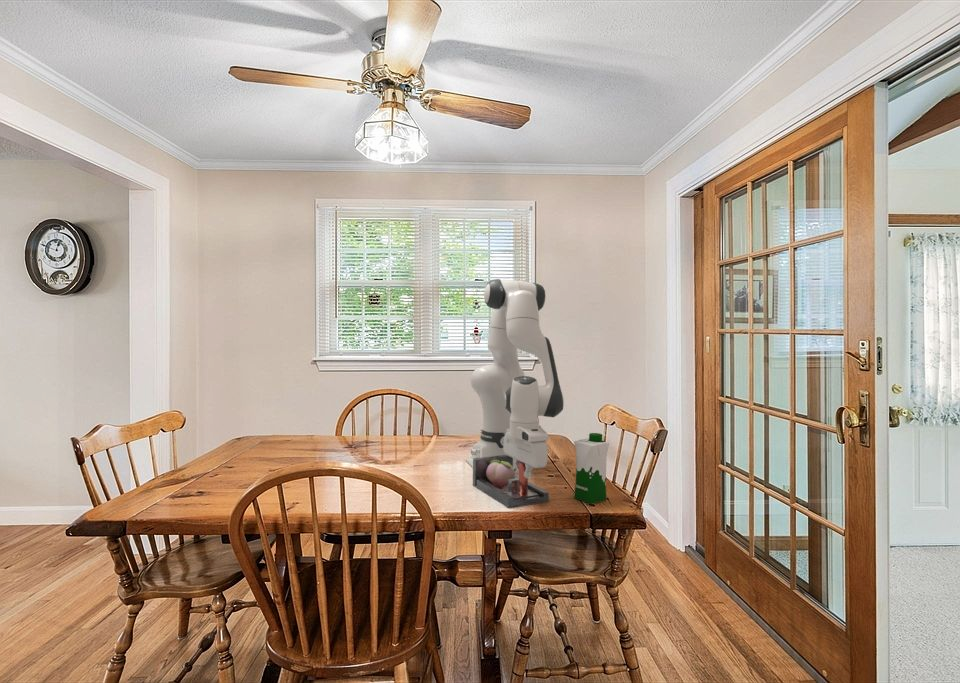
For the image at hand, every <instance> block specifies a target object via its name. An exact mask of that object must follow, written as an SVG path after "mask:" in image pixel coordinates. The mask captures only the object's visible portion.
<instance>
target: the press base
mask: <svg viewBox="0 0 960 683" xmlns="http://www.w3.org/2000/svg"><path fill="white" fill-rule="evenodd" d="M500 458H501V461H505V462H508V463H510V464H511V465H512V467H513V458H512V457H510V456H507V455H501V456H491V457H482V458H473V468H472V486H473V487H475V488H477V489H478V490H479V491H481V492H483V493H484V494H486V495H487V496H489V497H491V499H493V500H495V501H497V502H498V503H500V504H501V505H503V506H504V507H506V508H508V509H510V508H515V507H522V506H528V505H533V504H541V503H546V502H550V501H549V499H550V492H549V491H547V490H545V489H543V488H541V487H540V486H538V485H536V484H533V483H531V482H529V481H528V489H530V490H532V491H534V492H536V493H538V494H539V496H537V497H530V498H524V499H517V500H514V497H512V496H510V495H508V494H507V493H506V492H505V491H503V490H502V489H501V488H498V487H496V486H495V485H493V484H492V483H491V482H490V481H489V479H488V478H487V475H486V471H487V468H488V466H489V465H490V464H491V463H490V462H491V461H493V460H499V461H500ZM489 463H490V464H489ZM513 478H519V475H516V474H514V477H513Z"/></svg>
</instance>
